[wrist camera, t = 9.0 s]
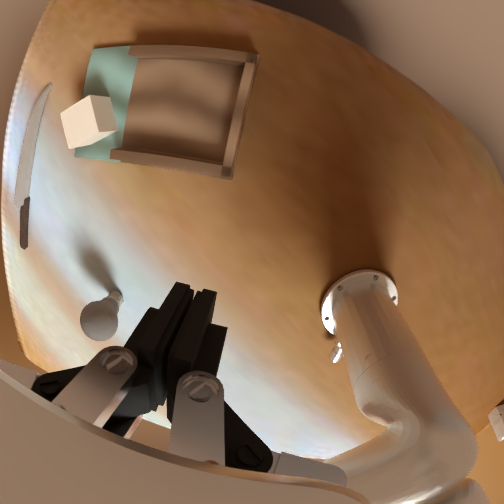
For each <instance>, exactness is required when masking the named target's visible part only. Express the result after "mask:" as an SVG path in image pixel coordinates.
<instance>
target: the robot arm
mask: <svg viewBox="0 0 504 504" xmlns="http://www.w3.org/2000/svg"><path fill="white" fill-rule="evenodd" d="M216 295H217V292H215V291H211V290H207V289H203V291H202V292H200V291H197V293H196V295H195V297H194V299H193V296H194V290H193V289H190V285H187V284H184V283H180V282H176V283H175V285H174V286H173V288H172V289H171V291H170V292H169V294H168V296H167V297H166V299H165V300H164V302H163V304H162V305H161V307H160V308H159V309H156V308H152V307H150V308H149V309H148V310H147V312H146V313H145V315H144V316H143V318H142V319H141V321H140V322H139V324H138V325H137V327H136V328H135V330H134V331H133V333H132V335H131V336H130V338H129V339H128V341H127V342H126V344H125V345H124V347H122V346H109V347H106V348H104V349H102V350H101V351H100V352H99V353H98V354H97V355H96V356H95V357H94V358H93V359H92V360H91V361H90V362H89V363H88V364H87V365H85V366H80V367H76V368H71V369H66V370H62V371H57V372H51V373H47V374H44V375H41V376H40V375H39V374H38V372H36V371H33V370H30V369H27V368H24V367H21V366H18V365H15V364H13V363H10V362H7V361H5V360H2V359H0V504H490V502H489V500H488V498H487V496H486V493H485V491H484V490H483V488H482V487H481V485H480V484H479V483H478V482H476V481H475V480H473V479H470V478H465V477H466V476H467V475H468V474H469V473H470V471H471V470H472V468H473V467H474V465H475V463H476V460H477V457H478V443H477V439H476V437H475V434H474V432H473V430H472V429H471V427H470V425H469V424H468V422H467V421H466V419H465V418H464V416H463V415H462V414H461V412H460V411H459V410H458V408H457V407H456V405H455V404H454V403H453V401H452V400H451V398H450V397H449V395H448V394H447V392H446V391H445V389H444V387H443V386H442V384H441V382H440V380H439V379H438V377H437V375H436V373H435V372H434V370H433V368H432V366H431V364H430V362H429V361H428V359H427V357H426V355H425V353H424V352H423V350H422V348H421V346H420V345H419V343H418V341H417V339H416V338H415V336H414V334H413V332H412V331H411V329H410V327H409V326H408V324H407V322H406V321H405V319H404V317H403V316H402V314H401V312H400V311H399V309H398V308H397V303H398V292H397V288H396V286H395V284H394V283H393V281H392V280H391V279H390V278H389V277H388V276H387V275H386V274H384V273H382V272H380V271H377V270H371V269H364V270H358V271H354V272H351V273H349V274H347V275H345V276H343V277H342V278H340V279H339V280H337V281H336V282H335V283H334V284H333V285H332V286H331V287H330V288H329V290H328V291H327V292H326V294H325V296H324V298H323V300H322V304H321V317H322V321H323V324H324V326H325V327H326V329H327V330H328V331H329V332H330V333H332V334H333V335H335V336H336V340H335V347H334V348H333V350H332V352H331V354H330V355H329V359H330V360H331V361H333V362H338V361H339V360H340V359H341V357H342V355H343V356H344V360H345V363H346V367H347V371H348V374H349V378H350V382H351V385H352V389H353V393H354V397H355V401H356V404H357V406H358V408H359V410H360V411H361V412H362V414H363V415H364V416H366V417H367V418H368V419H370V420H372V421H374V422H376V423H378V424H381V425H383V426H386V427H387V428H386V430H385V431H384V432H383V433H382V434H380V435H378V436H377V437H375V438H373V439H372V440H370V441H368V442H366V443H364V444H362V445H360V446H358V447H355V448H353V449H351V450H349V451H346V452H344V453H342V454H339V455H337V456H335V457H332V458H330V459H328V460H326V461H324V462H319V461H314V460H310V459H306V458H303V457H299V456H295V455H292V454H288V453H285V452H281V454H280V453H276V452H273V451H271V450H270V449H269V448H268V446H267V445H266V444H265V443H264V442H263V441H262V440H261V439H260V438H259V437H258V436H257V435H256V434H255V433H254V432H253V431H252V430H251V429H250V428H249V427H248V426H247V425H246V424H245V423H244V422H243V421H242V420H241V418H240V417H239V416H238V415H237V414H236V413H235V412H234V411H233V410H232V409H231V407H230V406H229V405H228V404H227V403H226V402H225V401H224V389H223V385H222V383H221V382H220V380H219V379H218V378H216V376H217V372H218V367H219V363H220V359H221V355H222V350H223V346H224V342H225V337H226V333H227V328H228V327H223V326H219V325H215V324H211V322H212V317H213V311H214V306H215V300H216ZM166 398H167V418H168V420H169V421H170V422H171V424H172V425H171V433H170V442H169V452H168V453H167V452H164V451H161V450H158V449H155V448H151V447H148V446H145V445H143V444H140V443H137V442H134V441H132V440H129V438H130V437H131V435H132V433H133V432H134V430H135V429H136V427H137V426H138V424H139V422H140V421H141V419H142V417H143V414H146V413H149V412H150V411H151V410H152V411H155V412H156V410H157V407H158V405H161V406H163V405H164V403H165V400H166ZM464 478H465V479H464Z"/></svg>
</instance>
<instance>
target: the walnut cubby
mask: <svg viewBox="0 0 504 504" xmlns="http://www.w3.org/2000/svg"><path fill="white" fill-rule="evenodd" d="M259 57H260V56H259V55H258V54H255V53H249V52H242V51H236V50H228V49H220V48H210V47H199V46H182V45H131V46H119V47H107V48H97V49H93V50H92V53H91V57H90V61H89V65H88V70H87V74H86V79H85V84H84V89H83V94H82V99H84V98H85V97H87V96H89V95H96V96H105V97H110V98H111V102H112V106H113V110H114V114H115V118H116V122H117V125H118V129H119V131H117V132H115V133H113V134H111V135H109V136H107V137H105V138H103V139H101V140H99V141H97V142H95V143H93V144H91V145H87V146H81V147H76V148H75V157H79V158H90V159H99V160H108V161H116V162H124V163H132V164H139V165H146V166H153V167H159V168H166V169H172V170H178V171H184V172H190V173H196V174H201V175H207V176H212V177H217V178H222V179H227V180H232V177H233V172H234V167H235V162H236V158H237V153H238V148H239V143H240V139H241V134H242V130H243V125H244V121H245V116H246V112H247V107H248V103H249V99H250V94H251V90H252V86H253V82H254V77H255V73H256V69H257V65H258V61H259Z"/></svg>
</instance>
